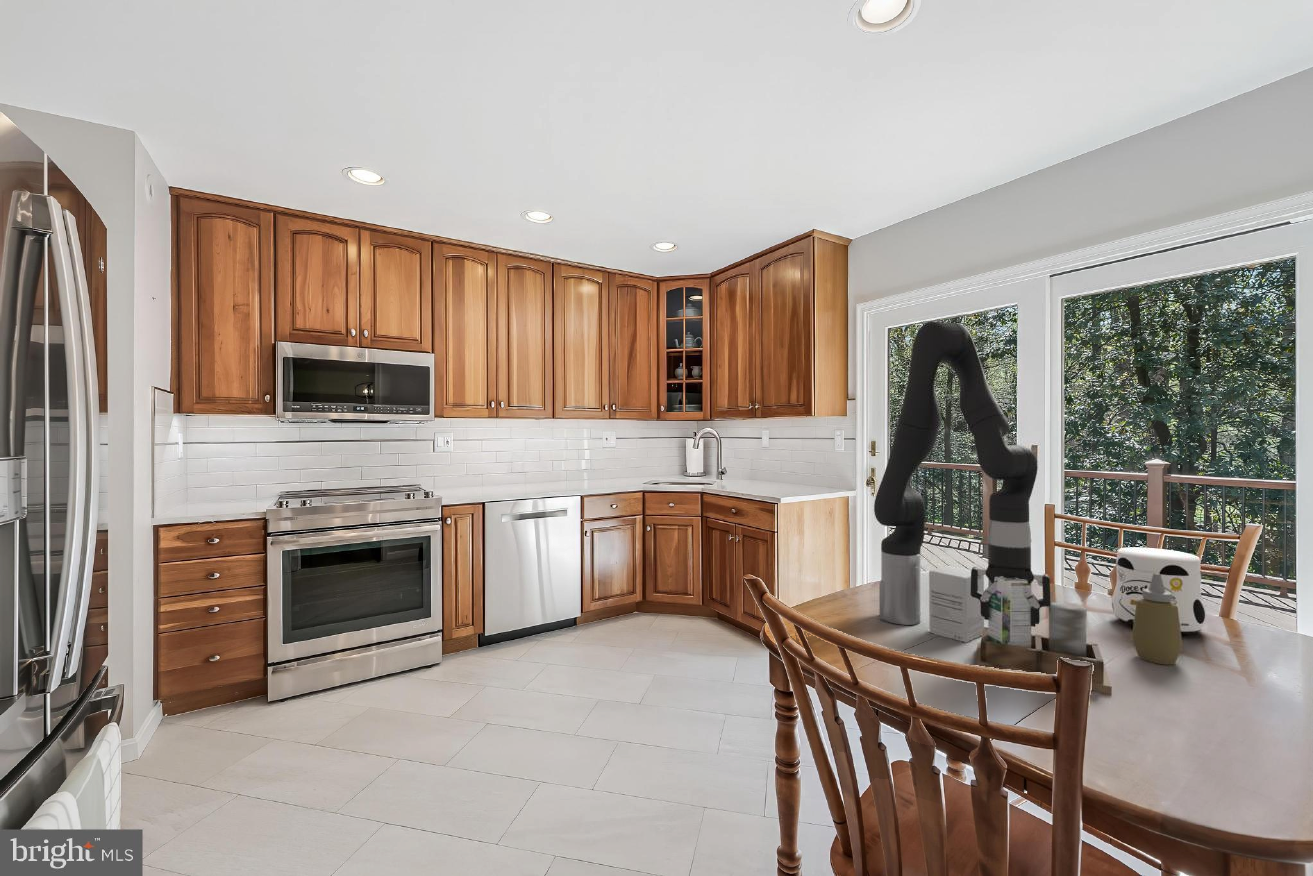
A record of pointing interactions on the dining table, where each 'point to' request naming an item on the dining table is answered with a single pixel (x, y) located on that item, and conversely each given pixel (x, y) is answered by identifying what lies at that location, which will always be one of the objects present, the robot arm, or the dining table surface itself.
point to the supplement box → (954, 604)
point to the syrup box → (1009, 613)
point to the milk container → (1177, 579)
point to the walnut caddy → (1049, 648)
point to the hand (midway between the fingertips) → (1009, 622)
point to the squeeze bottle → (1157, 625)
